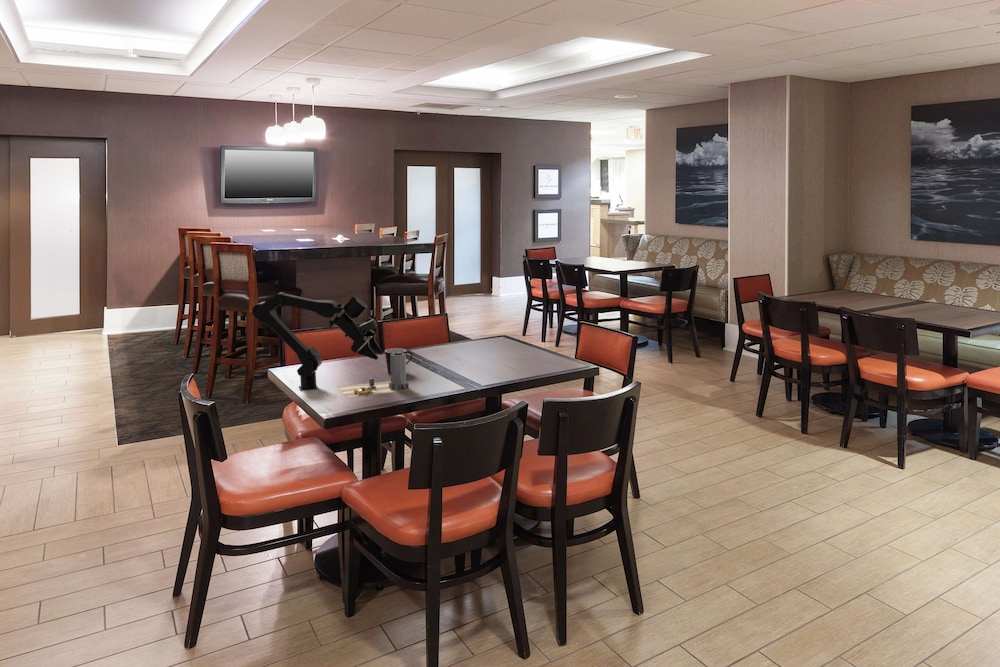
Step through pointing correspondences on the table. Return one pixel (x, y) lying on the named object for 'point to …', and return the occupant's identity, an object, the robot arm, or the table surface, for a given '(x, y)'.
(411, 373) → the table surface
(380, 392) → the gear board
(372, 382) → the steel peg
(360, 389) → the brass gear
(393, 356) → the grey octagonal tube
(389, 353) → the coffee mug
